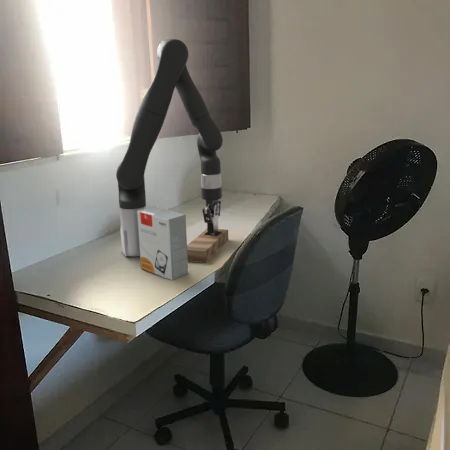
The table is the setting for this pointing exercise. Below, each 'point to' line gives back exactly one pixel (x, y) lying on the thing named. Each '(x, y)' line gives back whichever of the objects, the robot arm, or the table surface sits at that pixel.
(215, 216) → the brushed metal cylinder
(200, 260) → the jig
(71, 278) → the table surface
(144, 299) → the table surface
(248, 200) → the table surface
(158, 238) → the hard drive box
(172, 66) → the robot arm
